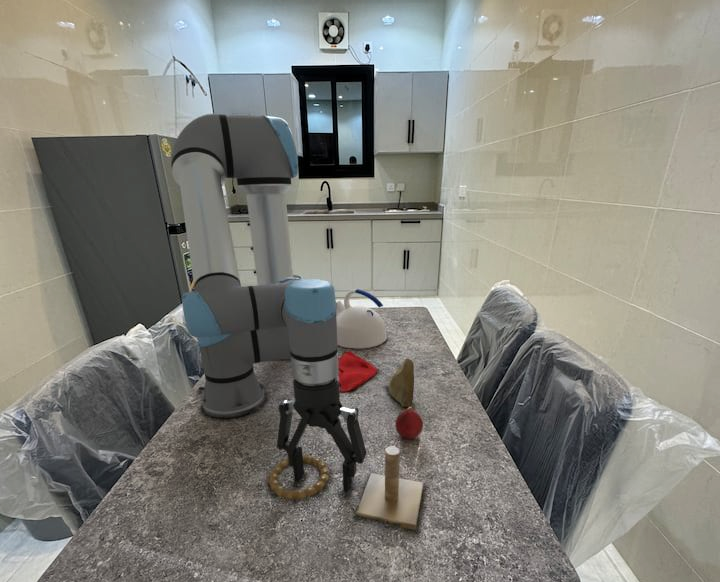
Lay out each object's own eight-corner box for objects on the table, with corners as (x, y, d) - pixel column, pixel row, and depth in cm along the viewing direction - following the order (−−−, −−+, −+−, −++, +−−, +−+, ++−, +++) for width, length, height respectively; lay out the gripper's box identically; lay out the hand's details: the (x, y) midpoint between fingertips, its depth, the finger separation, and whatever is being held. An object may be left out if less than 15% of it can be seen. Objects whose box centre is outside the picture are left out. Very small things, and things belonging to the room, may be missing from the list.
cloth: (370, 394, 102) (370, 386, 101) (321, 390, 104) (320, 383, 104) (381, 354, 126) (381, 348, 125) (340, 352, 128) (340, 346, 127)
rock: (422, 403, 93) (428, 380, 101) (401, 377, 91) (409, 355, 99) (388, 418, 99) (396, 395, 107) (367, 394, 97) (378, 372, 105)
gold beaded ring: (258, 495, 70) (257, 488, 69) (285, 456, 79) (285, 450, 79) (316, 507, 67) (315, 500, 66) (336, 465, 77) (336, 459, 76)
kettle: (352, 324, 153) (351, 280, 145) (397, 335, 141) (398, 287, 134) (318, 340, 138) (315, 291, 130) (365, 353, 126) (365, 300, 119)
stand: (356, 518, 64) (354, 465, 60) (370, 477, 73) (370, 428, 69) (415, 530, 62) (418, 476, 57) (423, 487, 71) (426, 437, 66)
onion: (404, 449, 81) (405, 417, 78) (390, 435, 85) (390, 404, 82) (427, 441, 83) (429, 410, 80) (411, 427, 88) (413, 397, 85)
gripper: (244, 379, 62) (261, 486, 71) (374, 396, 57) (374, 510, 66) (267, 360, 69) (279, 461, 78) (385, 373, 63) (384, 480, 72)
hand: (323, 483), depth 72 cm, fingers open, 9 cm apart
